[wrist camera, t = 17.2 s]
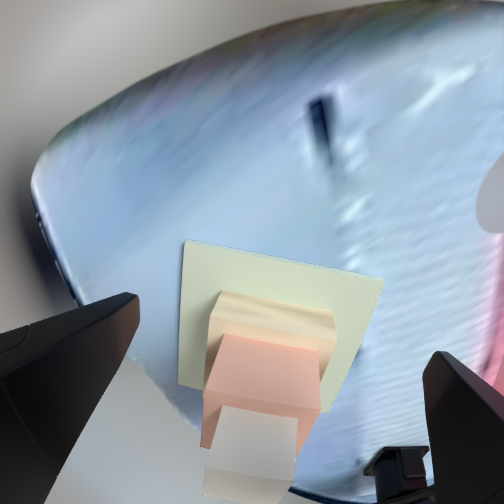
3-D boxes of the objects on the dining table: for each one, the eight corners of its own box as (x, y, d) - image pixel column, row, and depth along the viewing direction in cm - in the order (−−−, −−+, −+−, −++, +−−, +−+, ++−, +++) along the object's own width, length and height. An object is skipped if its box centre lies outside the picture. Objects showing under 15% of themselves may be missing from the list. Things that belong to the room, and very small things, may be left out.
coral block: (295, 409, 21) (292, 463, 17) (216, 394, 22) (200, 446, 17) (318, 350, 19) (320, 409, 15) (224, 333, 20) (205, 388, 15)
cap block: (281, 454, 17) (275, 508, 13) (217, 442, 17) (202, 495, 13) (297, 418, 15) (293, 481, 11) (222, 404, 15) (205, 465, 12)
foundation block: (304, 387, 25) (304, 418, 22) (212, 369, 26) (201, 398, 22) (332, 311, 22) (337, 340, 19) (222, 289, 22) (210, 316, 19)
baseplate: (327, 408, 27) (327, 413, 26) (179, 379, 27) (178, 384, 27) (382, 278, 21) (384, 281, 21) (187, 239, 22) (184, 242, 22)
